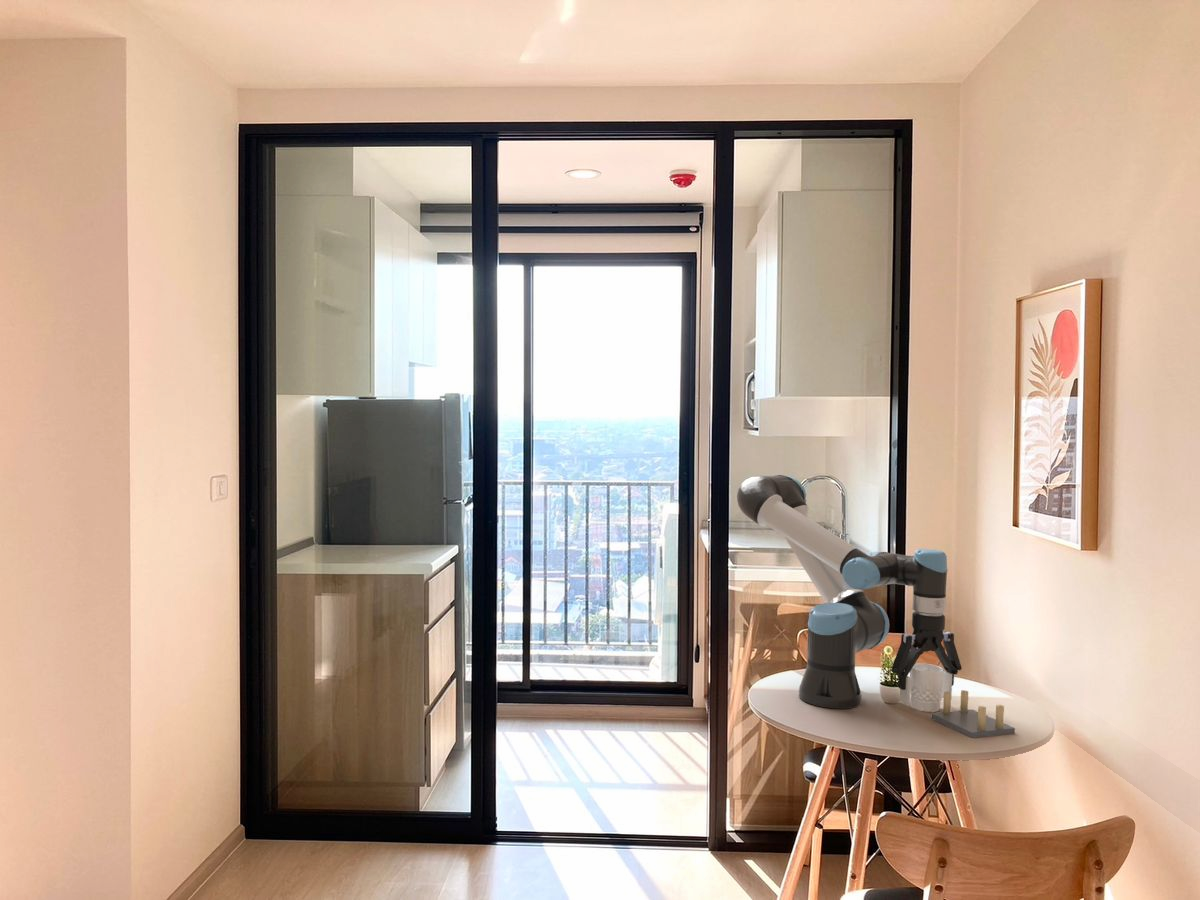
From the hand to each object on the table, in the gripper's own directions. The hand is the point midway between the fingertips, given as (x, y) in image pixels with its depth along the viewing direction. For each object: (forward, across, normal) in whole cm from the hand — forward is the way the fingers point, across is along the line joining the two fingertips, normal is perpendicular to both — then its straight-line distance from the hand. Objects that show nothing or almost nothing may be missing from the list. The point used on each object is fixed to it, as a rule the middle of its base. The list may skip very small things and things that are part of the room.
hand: (925, 700), depth 205 cm
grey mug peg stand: (+2, +2, -14) cm, 14 cm away
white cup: (+2, 0, 0) cm, 2 cm away
